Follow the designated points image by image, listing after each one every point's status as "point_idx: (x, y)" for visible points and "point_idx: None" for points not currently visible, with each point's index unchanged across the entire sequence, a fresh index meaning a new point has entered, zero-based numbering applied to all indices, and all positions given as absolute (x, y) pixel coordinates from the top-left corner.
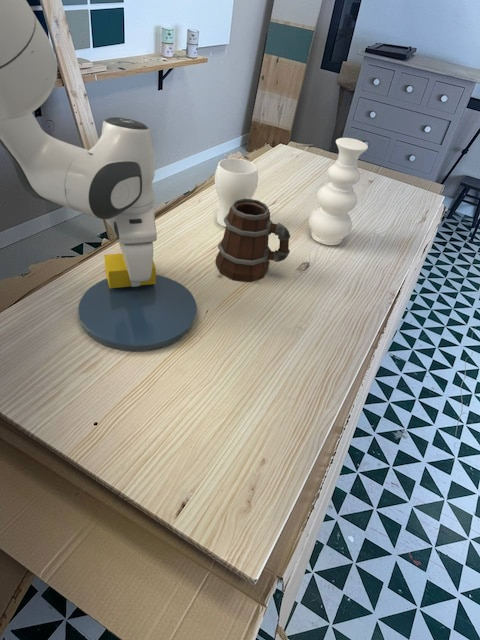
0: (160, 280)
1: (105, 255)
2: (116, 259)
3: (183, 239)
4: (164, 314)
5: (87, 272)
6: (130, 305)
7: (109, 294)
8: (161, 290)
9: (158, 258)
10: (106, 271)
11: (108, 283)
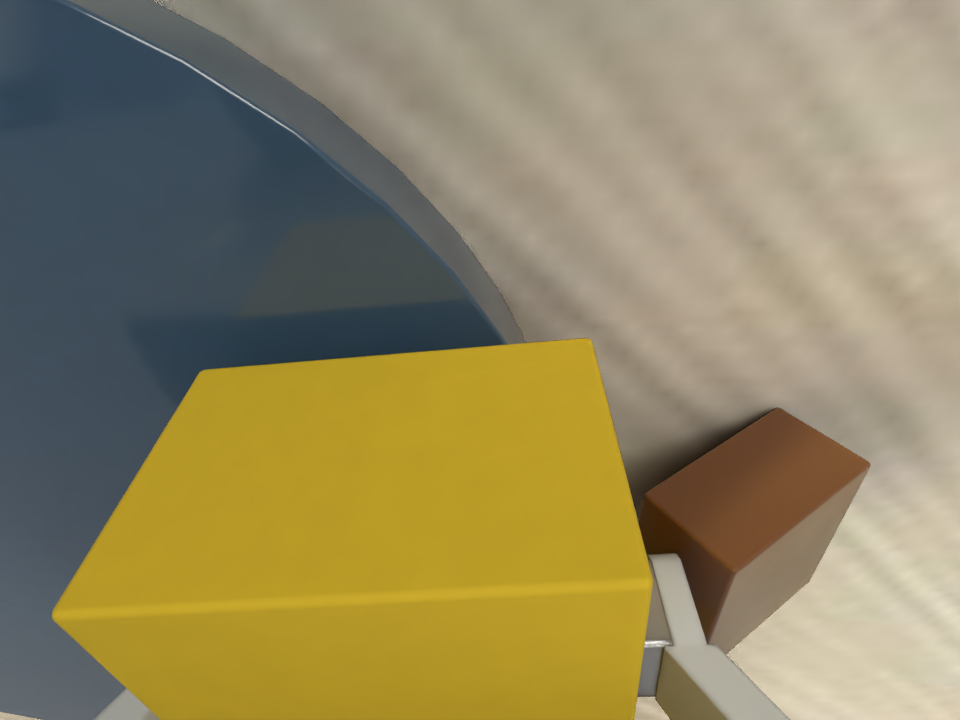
0: None
1: (621, 596)
2: (463, 690)
3: (950, 709)
4: (18, 635)
5: (821, 26)
6: (33, 487)
7: (150, 338)
8: None
9: (792, 610)
10: (431, 417)
11: (284, 369)
